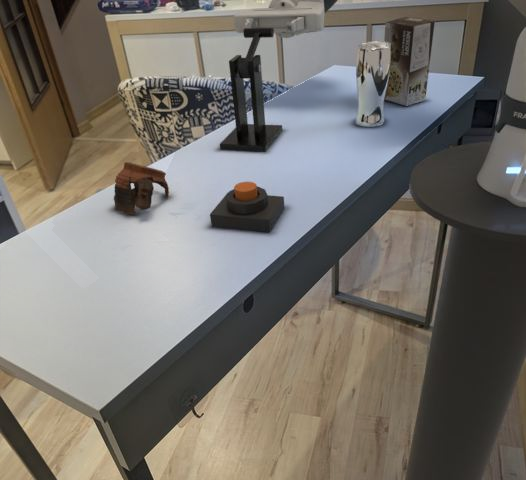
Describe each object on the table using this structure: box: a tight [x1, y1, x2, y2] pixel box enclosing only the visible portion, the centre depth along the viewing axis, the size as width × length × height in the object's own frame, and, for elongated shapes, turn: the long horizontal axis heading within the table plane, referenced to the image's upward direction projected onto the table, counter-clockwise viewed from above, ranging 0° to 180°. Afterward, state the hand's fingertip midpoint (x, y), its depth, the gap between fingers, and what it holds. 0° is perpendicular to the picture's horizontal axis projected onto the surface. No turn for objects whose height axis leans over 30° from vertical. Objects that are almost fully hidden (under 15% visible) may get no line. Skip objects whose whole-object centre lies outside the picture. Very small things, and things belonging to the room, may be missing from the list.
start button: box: [233, 181, 258, 201], centre depth 83 cm, size 4×4×2 cm
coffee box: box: [383, 16, 436, 107], centre depth 118 cm, size 9×6×16 cm
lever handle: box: [237, 28, 275, 79], centre depth 104 cm, size 12×6×2 cm, turn 162°
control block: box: [209, 185, 285, 233], centre depth 84 cm, size 10×8×4 cm
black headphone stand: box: [219, 54, 283, 153], centre depth 106 cm, size 12×10×16 cm
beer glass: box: [355, 40, 391, 128], centre depth 109 cm, size 7×7×15 cm
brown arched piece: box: [113, 161, 170, 216], centre depth 90 cm, size 12×10×8 cm
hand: (269, 27), depth 110 cm, fingers open, 8 cm apart
